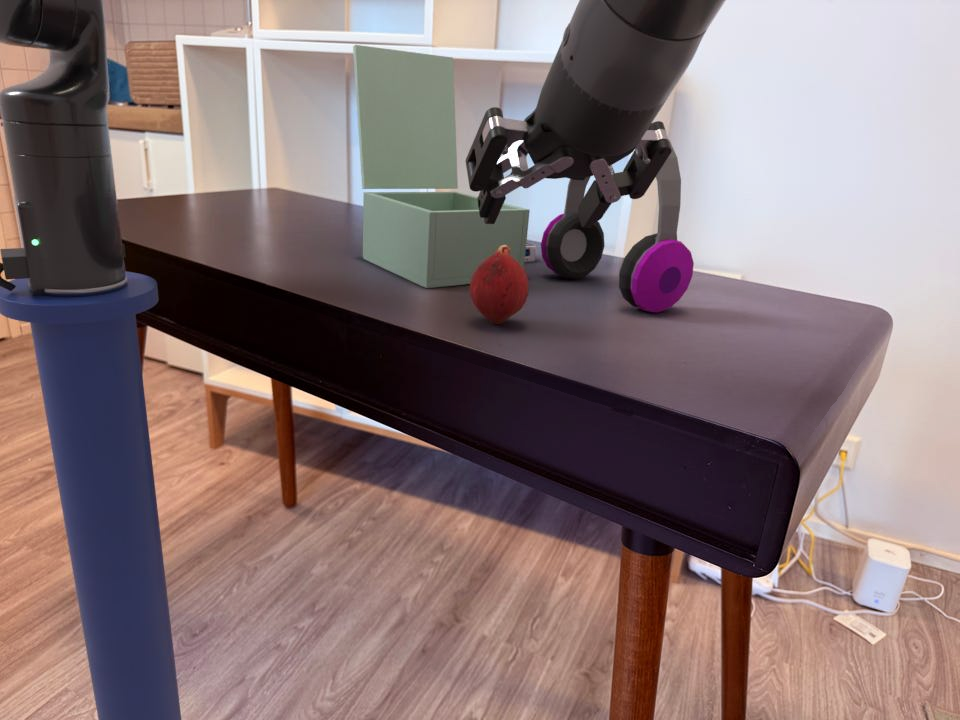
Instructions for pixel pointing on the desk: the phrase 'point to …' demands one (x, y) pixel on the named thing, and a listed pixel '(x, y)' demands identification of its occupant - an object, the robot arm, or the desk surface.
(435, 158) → the lid
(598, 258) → the headphones
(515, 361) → the desk surface
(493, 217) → the robot arm
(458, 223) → the box body
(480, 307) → the red fruit
